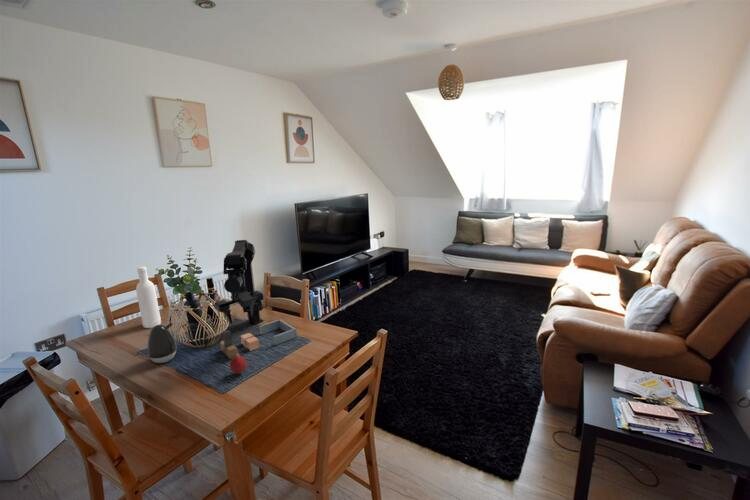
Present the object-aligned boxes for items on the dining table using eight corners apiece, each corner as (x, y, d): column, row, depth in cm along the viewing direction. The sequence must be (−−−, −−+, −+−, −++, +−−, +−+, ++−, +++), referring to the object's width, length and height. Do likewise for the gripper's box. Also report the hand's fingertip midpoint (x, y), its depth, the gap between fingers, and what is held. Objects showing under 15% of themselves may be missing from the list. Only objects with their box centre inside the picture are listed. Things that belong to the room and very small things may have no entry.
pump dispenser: (183, 358, 145) (177, 324, 142) (155, 369, 138) (148, 333, 134) (173, 350, 152) (167, 317, 148) (145, 360, 144) (138, 326, 141)
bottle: (139, 328, 174) (127, 269, 167) (149, 321, 181) (138, 265, 174) (155, 328, 174) (144, 269, 167) (164, 321, 181) (154, 264, 174)
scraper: (221, 350, 151) (218, 328, 149) (228, 347, 153) (225, 326, 151) (231, 360, 143) (228, 337, 141) (238, 357, 145) (235, 334, 143)
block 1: (241, 344, 156) (240, 335, 155) (250, 340, 159) (249, 332, 158) (245, 347, 153) (244, 338, 152) (254, 344, 156) (253, 335, 155)
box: (260, 333, 165) (259, 326, 164) (280, 326, 171) (280, 319, 171) (275, 345, 154) (274, 336, 153) (296, 337, 161) (296, 328, 160)
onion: (237, 379, 130) (235, 359, 128) (227, 375, 133) (225, 355, 131) (250, 371, 134) (248, 352, 133) (241, 367, 137) (238, 348, 136)
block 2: (246, 348, 152) (245, 339, 151) (255, 344, 155) (254, 336, 154) (250, 351, 149) (249, 342, 149) (259, 348, 152) (258, 339, 151)
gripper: (222, 295, 132) (227, 333, 135) (268, 283, 145) (272, 318, 148) (211, 288, 140) (216, 325, 143) (255, 277, 152) (259, 311, 156)
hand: (242, 320), depth 147 cm, fingers open, 9 cm apart
